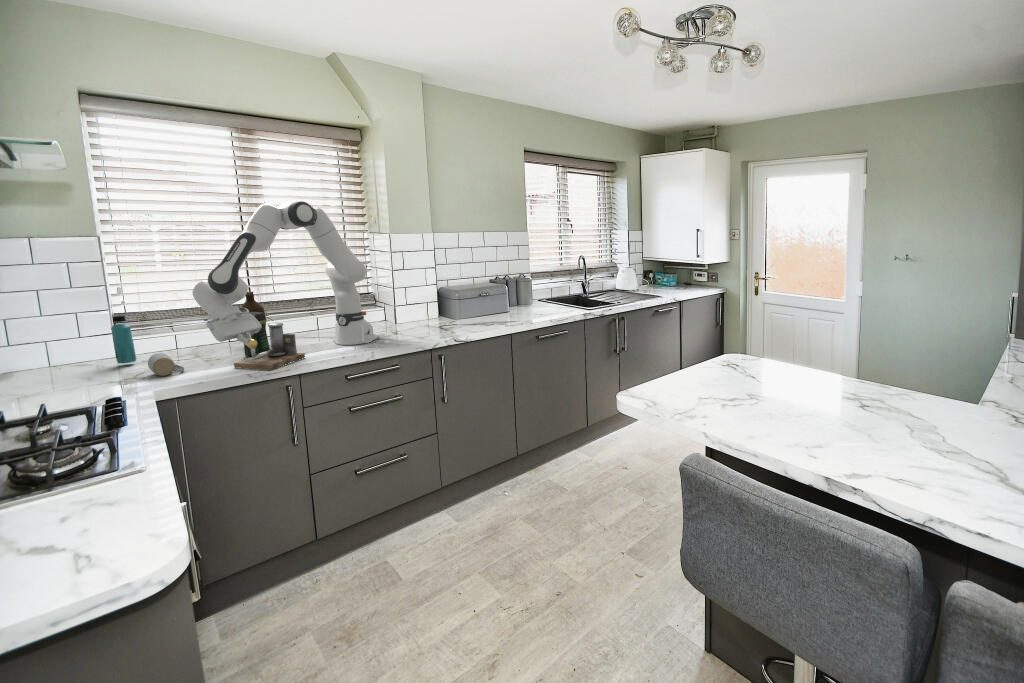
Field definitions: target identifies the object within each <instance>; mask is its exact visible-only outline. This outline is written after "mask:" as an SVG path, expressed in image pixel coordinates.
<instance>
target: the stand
mask: <svg viewBox="0 0 1024 683" xmlns="http://www.w3.org/2000/svg"><path fill="white" fill-rule="evenodd" d="M283 335H284V345H285V351H286V355H284V356H279V357H268V355H267V356H264V357H262V358H259V359H256V360H252V357H248V358H244V359H241V360H239V361H238V360H237V361H235V362H233V367H241V368H240V369H244V368H249V370H259V369H263V370H262V371H273V370H277V369H279V368H281V366H282V367H284V366H286V365H285V364H287V365H289V364H288V363H290V362H293V361H295V362H298V361H300V360H299V359H301V360H303V359H302V358H304V357H305V358H306V354H305V353H304V352H297V342H296V335H295V333H283ZM305 358H304V359H305ZM297 360H298V361H297ZM293 363H294V362H293ZM290 364H291V363H290ZM283 365H284V366H283ZM278 367H279V368H278Z"/></svg>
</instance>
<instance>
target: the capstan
mask: <svg viewBox="0 0 1024 683" xmlns="http://www.w3.org/2000/svg"><path fill="white" fill-rule="evenodd" d="M283 326H284V323H283V322H272V323H268V324H267V327H268V330H269V339H270V340H269V341H270V350H269V351H266V352H263V353H260V354H258V355H256V353H255V348H256V347H257V345H258V343H257V341H256V340H254V339H250V340H249V341H248V342H247V346H248V347H249V348H251V354H252V360H256V359H259V358H262V357H264V356H267V355H268V357H279V356H284V355H286V351H285V345H284V335H283V334H284V329H283Z"/></svg>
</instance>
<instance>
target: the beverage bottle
mask: <svg viewBox="0 0 1024 683" xmlns="http://www.w3.org/2000/svg"><path fill="white" fill-rule="evenodd" d="M126 321H127V319H126V316H125V315H114V316H112V322H113V323H116V324H113V325H112V327H110V330H111V334H112V341H113V349H114V352H115V359H116V361H117V363H118V364H129V363H133V362H136V361H137V355H136V349H135V345H134V340H133V336H132V329H131V326H130V324H128V323H122V322H126ZM120 322H121V323H120Z"/></svg>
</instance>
